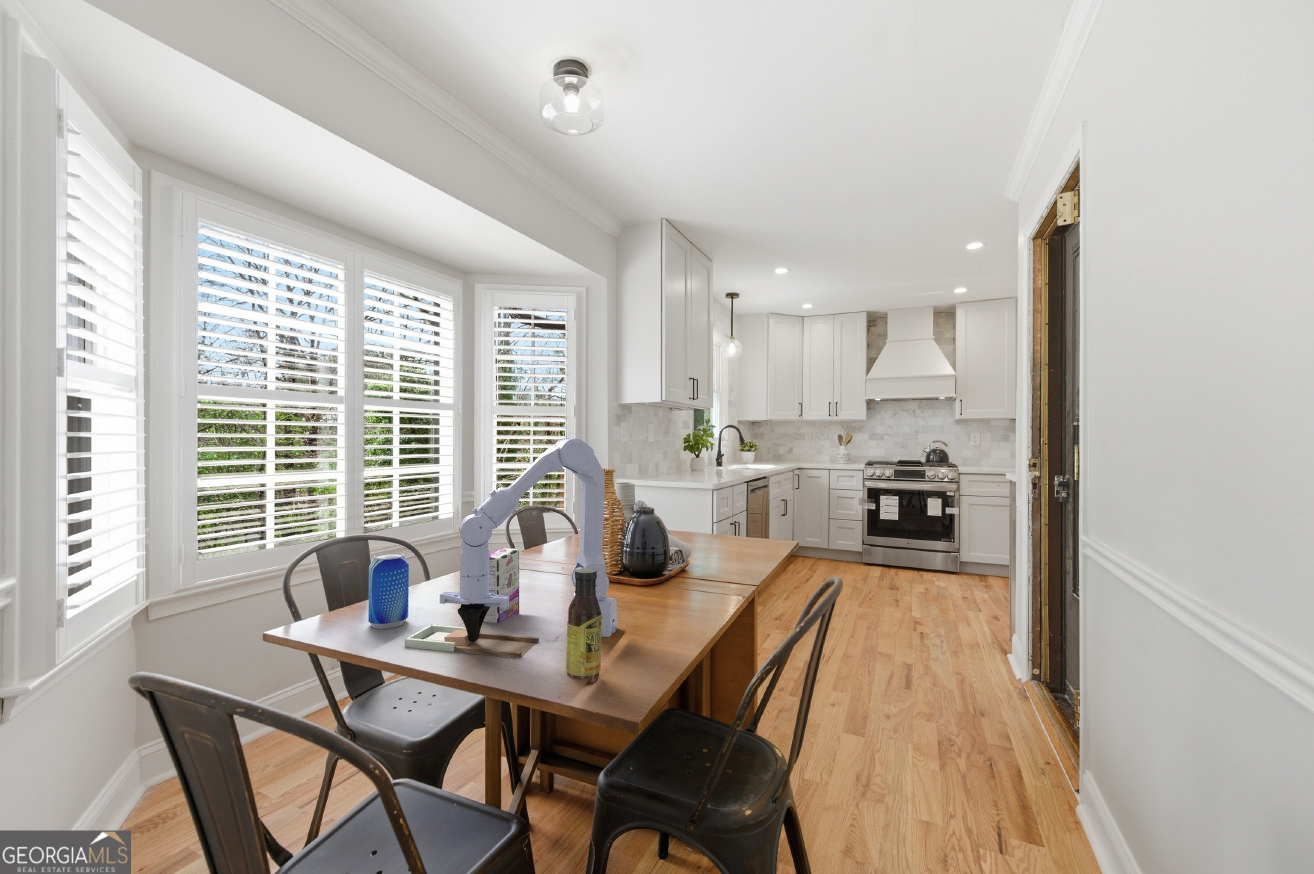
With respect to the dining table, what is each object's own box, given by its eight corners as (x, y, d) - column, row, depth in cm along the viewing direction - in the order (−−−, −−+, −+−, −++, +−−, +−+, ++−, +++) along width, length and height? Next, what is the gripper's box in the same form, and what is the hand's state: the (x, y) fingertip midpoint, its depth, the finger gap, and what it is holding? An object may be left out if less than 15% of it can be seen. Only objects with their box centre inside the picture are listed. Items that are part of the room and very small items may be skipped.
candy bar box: (501, 613, 141) (501, 547, 141) (519, 614, 140) (520, 548, 140) (478, 628, 130) (479, 556, 130) (498, 629, 129) (499, 557, 129)
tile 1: (456, 642, 120) (456, 633, 120) (444, 650, 115) (444, 640, 115) (437, 641, 121) (437, 631, 121) (424, 648, 116) (424, 639, 116)
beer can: (373, 632, 126) (374, 560, 126) (364, 622, 133) (365, 554, 133) (412, 625, 132) (413, 556, 132) (402, 615, 138) (403, 550, 138)
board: (538, 648, 118) (538, 637, 118) (519, 665, 109) (519, 653, 109) (477, 642, 121) (477, 631, 121) (453, 658, 112) (453, 647, 112)
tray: (477, 642, 121) (477, 628, 121) (453, 658, 112) (454, 643, 112) (430, 638, 123) (431, 624, 123) (404, 653, 114) (404, 638, 114)
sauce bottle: (590, 689, 99) (591, 576, 99) (559, 683, 102) (560, 572, 102) (607, 675, 105) (608, 568, 105) (577, 669, 108) (578, 565, 108)
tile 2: (476, 638, 119) (475, 629, 119) (465, 646, 114) (464, 636, 114) (457, 639, 120) (456, 629, 120) (444, 646, 115) (444, 637, 115)
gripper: (431, 576, 114) (430, 643, 114) (497, 581, 111) (497, 650, 111) (450, 568, 121) (450, 632, 121) (514, 572, 118) (513, 637, 118)
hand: (473, 640), depth 116 cm, fingers closed
